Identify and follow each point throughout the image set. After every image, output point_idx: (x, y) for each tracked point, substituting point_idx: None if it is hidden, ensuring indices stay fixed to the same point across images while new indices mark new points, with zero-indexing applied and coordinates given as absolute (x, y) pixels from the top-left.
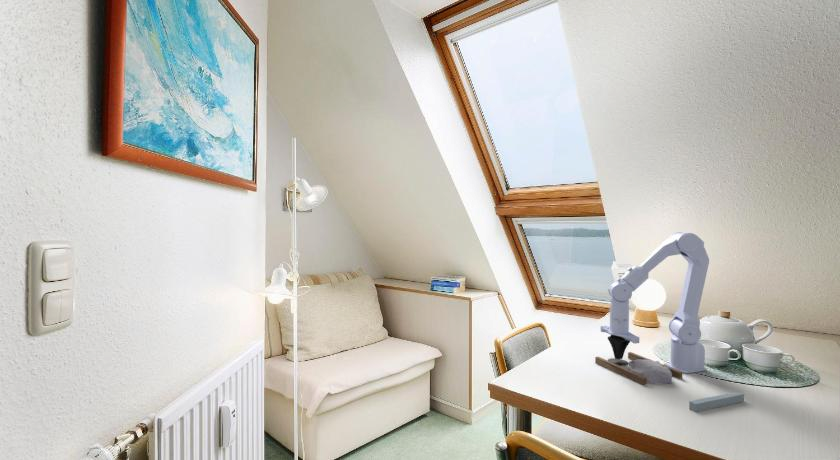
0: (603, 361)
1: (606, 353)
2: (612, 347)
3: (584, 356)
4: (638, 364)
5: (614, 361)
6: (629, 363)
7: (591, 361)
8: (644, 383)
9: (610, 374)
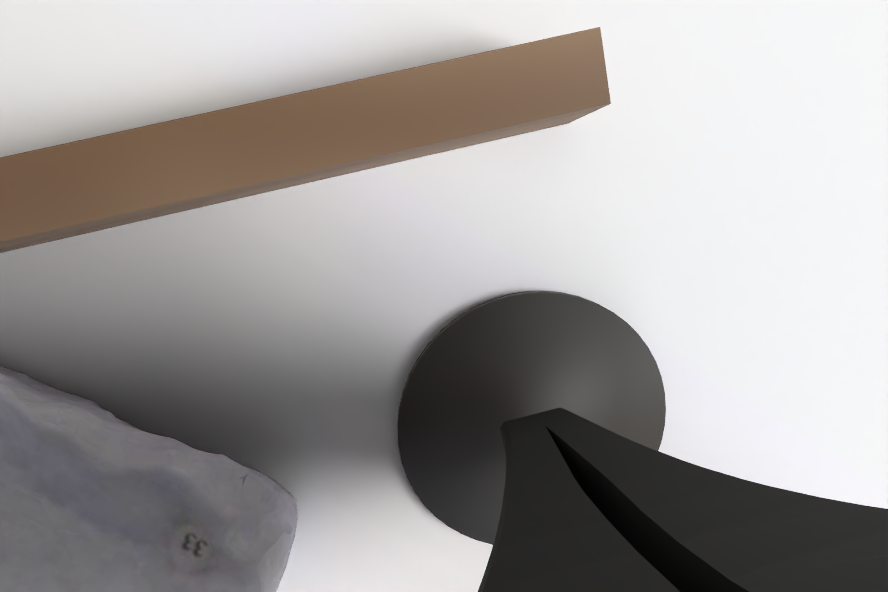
0: (385, 78)
1: (856, 449)
2: (678, 469)
3: (840, 52)
4: (22, 568)
5: (548, 383)
6: (153, 460)
7: (625, 36)
8: None
9: (34, 8)
